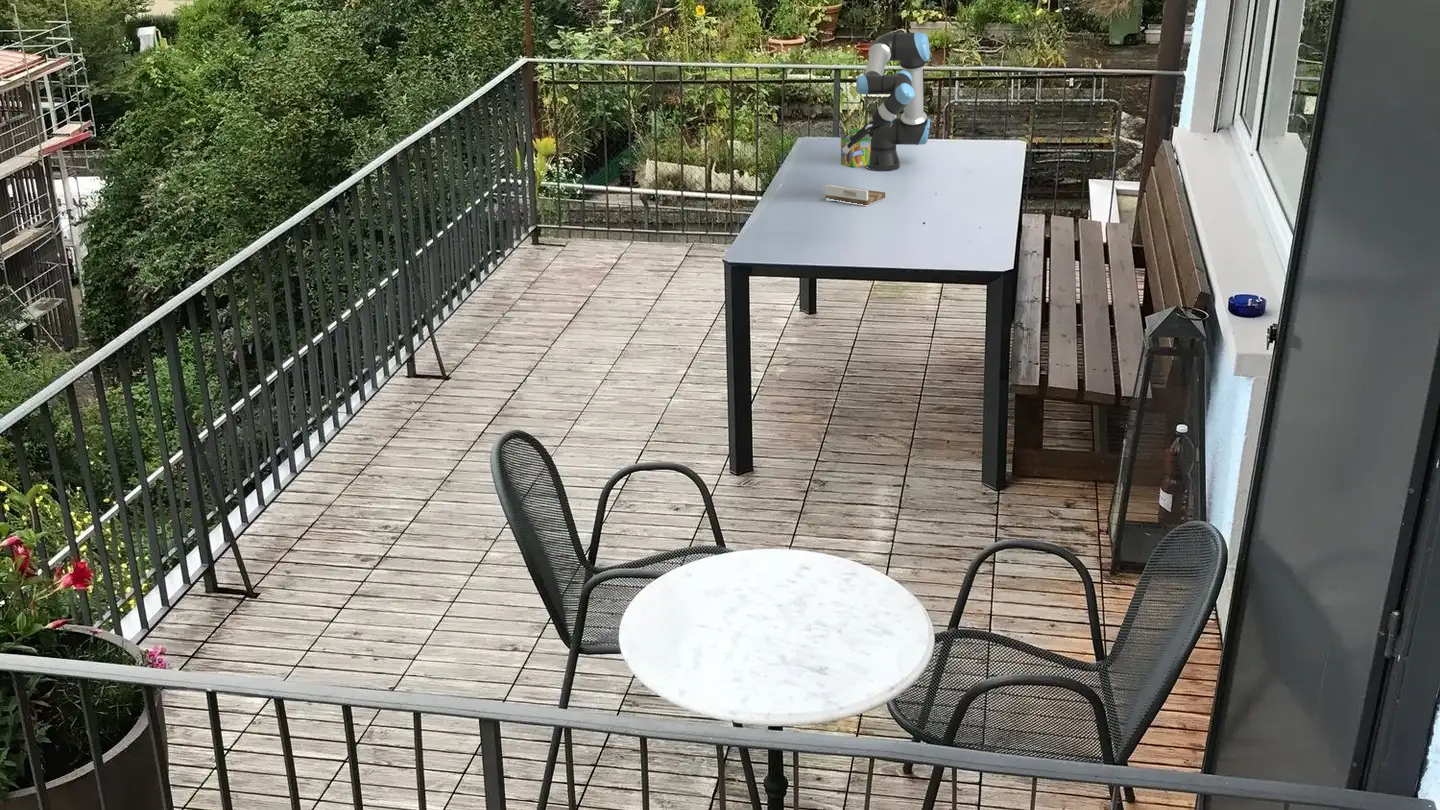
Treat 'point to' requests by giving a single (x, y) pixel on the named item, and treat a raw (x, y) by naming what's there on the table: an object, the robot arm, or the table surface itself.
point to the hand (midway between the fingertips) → (852, 148)
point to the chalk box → (856, 152)
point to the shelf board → (853, 194)
